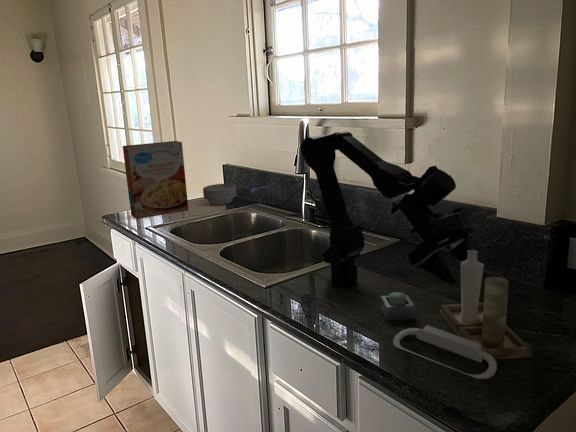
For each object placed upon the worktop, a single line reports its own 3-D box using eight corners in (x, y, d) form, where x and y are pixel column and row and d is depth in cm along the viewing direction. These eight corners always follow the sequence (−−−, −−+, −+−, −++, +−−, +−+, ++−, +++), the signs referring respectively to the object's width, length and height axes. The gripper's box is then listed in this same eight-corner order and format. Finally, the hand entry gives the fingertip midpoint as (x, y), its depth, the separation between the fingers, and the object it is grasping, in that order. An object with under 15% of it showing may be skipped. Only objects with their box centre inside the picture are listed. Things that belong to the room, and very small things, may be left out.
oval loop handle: (386, 354, 98) (383, 339, 96) (409, 330, 102) (406, 316, 101) (484, 396, 84) (483, 379, 82) (506, 366, 88) (505, 350, 87)
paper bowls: (197, 204, 230) (195, 187, 228) (221, 198, 241) (220, 182, 239) (219, 208, 220) (218, 190, 218) (244, 201, 232) (242, 185, 230)
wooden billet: (486, 350, 93) (490, 285, 90) (478, 340, 97) (481, 277, 94) (507, 349, 93) (512, 284, 90) (498, 338, 97) (502, 276, 94)
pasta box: (136, 219, 208) (127, 147, 200) (131, 215, 214) (122, 145, 207) (188, 210, 219) (181, 142, 212) (181, 207, 226) (175, 140, 219)
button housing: (386, 324, 107) (386, 307, 106) (380, 312, 113) (380, 296, 112) (414, 322, 107) (414, 305, 106) (406, 310, 113) (407, 294, 112)
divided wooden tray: (477, 364, 90) (477, 352, 90) (438, 314, 111) (439, 303, 110) (531, 361, 90) (532, 349, 90) (483, 311, 111) (484, 301, 110)
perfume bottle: (464, 324, 103) (468, 256, 99) (453, 315, 107) (457, 249, 103) (484, 322, 104) (489, 254, 100) (473, 313, 108) (477, 247, 104)
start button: (390, 316, 108) (391, 299, 107) (387, 309, 111) (387, 292, 110) (407, 315, 108) (407, 298, 107) (403, 308, 111) (403, 291, 110)
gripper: (421, 204, 97) (471, 271, 92) (468, 188, 110) (514, 247, 105) (387, 235, 105) (432, 298, 100) (435, 217, 117) (476, 272, 112)
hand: (465, 277), depth 104 cm, fingers open, 9 cm apart
